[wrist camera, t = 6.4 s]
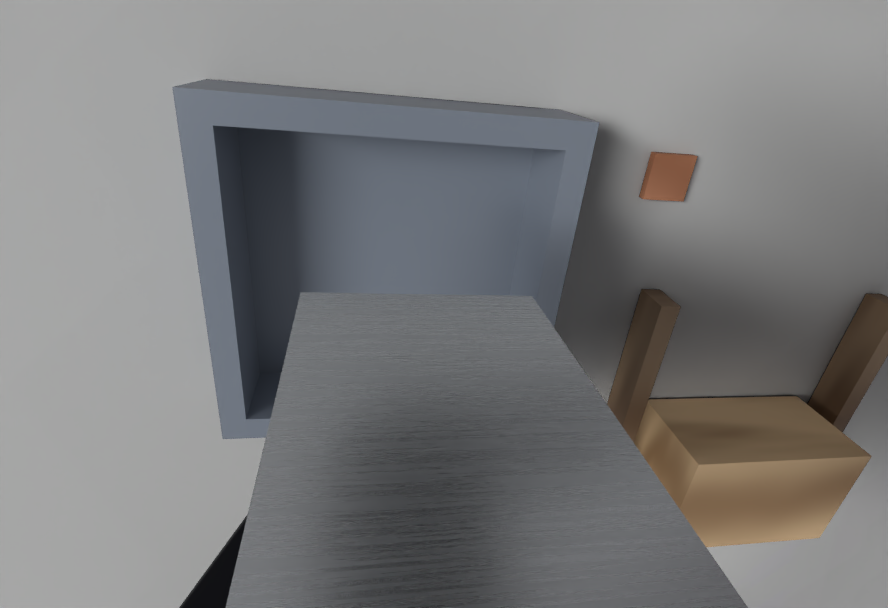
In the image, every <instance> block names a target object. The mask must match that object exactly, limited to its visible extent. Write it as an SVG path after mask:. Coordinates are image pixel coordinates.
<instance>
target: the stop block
mask: <svg viewBox="0 0 888 608" xmlns="http://www.w3.org/2000/svg"><path fill="white" fill-rule="evenodd" d="M226 608H748V607H747V606H746V604H745V603H744V601H743V600H742V598H741V597H740V595H739V594H738V593H737V591H736V590H735V588H734V587H733V585H732V584H731V583H730V581H729V580H728V578H727V577H726V575H725V574H724V572H723V571H722V570H721V568H720V567H719V565H718V564H717V562H716V561H715V559H714V558H713V557H712V555H711V554H710V552H709V551H708V549H707V548H706V546H705V545H704V544H703V542H702V541H701V539H700V538H699V536H698V535H697V533H696V532H695V531H694V529H693V528H692V526H691V525H690V523H689V522H688V520H687V519H686V518H685V516H684V515H683V513H682V512H681V510H680V509H679V507H678V506H677V505H676V503H675V502H674V500H673V499H672V497H671V496H670V494H669V493H668V492H667V490H666V489H665V487H664V486H663V484H662V483H661V481H660V480H659V479H658V477H657V476H656V474H655V473H654V471H653V470H652V468H651V467H650V466H649V464H648V463H647V461H646V460H645V458H644V457H643V455H642V454H641V453H640V451H639V450H638V448H637V447H636V445H635V444H634V442H633V441H632V440H631V438H630V437H629V435H628V434H627V432H626V431H625V429H624V428H623V427H622V425H621V424H620V422H619V421H618V419H617V418H616V416H615V415H614V414H613V412H612V411H611V409H610V408H609V406H608V405H607V404H606V402H605V401H604V399H603V398H602V396H601V395H600V393H599V392H598V391H597V389H596V388H595V386H594V385H593V383H592V382H591V380H590V379H589V378H588V376H587V375H586V373H585V372H584V370H583V369H582V367H581V366H580V365H579V363H578V362H577V360H576V359H575V357H574V356H573V354H572V353H571V352H570V350H569V349H568V347H567V346H566V344H565V343H564V341H563V340H562V339H561V337H560V336H559V334H558V333H557V331H556V330H555V328H554V327H553V326H552V324H551V323H550V321H549V320H548V318H547V317H546V315H545V314H544V313H543V311H542V310H541V308H540V307H539V305H538V304H537V302H536V301H535V300H534V298H533V297H532V296H510V295H446V294H381V293H317V292H300V297H299V301H298V305H297V309H296V313H295V318H294V322H293V326H292V330H291V334H290V339H289V343H288V347H287V351H286V356H285V360H284V364H283V368H282V372H281V377H280V381H279V385H278V389H277V393H276V398H275V402H274V406H273V410H272V414H271V419H270V423H269V427H268V431H267V435H266V440H265V444H264V448H263V452H262V456H261V461H260V465H259V469H258V473H257V477H256V482H255V486H254V490H253V494H252V498H251V503H250V507H249V511H248V515H247V519H246V524H245V528H244V532H243V536H242V541H241V545H240V549H239V553H238V557H237V562H236V566H235V570H234V574H233V578H232V583H231V587H230V591H229V595H228V599H227V604H226Z"/></svg>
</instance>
